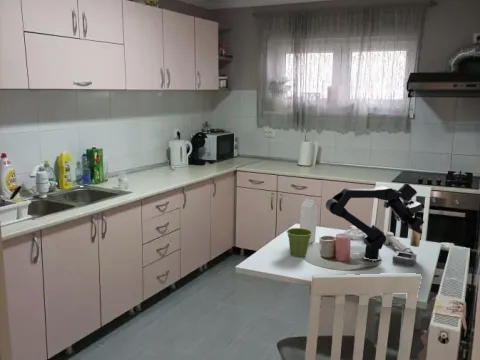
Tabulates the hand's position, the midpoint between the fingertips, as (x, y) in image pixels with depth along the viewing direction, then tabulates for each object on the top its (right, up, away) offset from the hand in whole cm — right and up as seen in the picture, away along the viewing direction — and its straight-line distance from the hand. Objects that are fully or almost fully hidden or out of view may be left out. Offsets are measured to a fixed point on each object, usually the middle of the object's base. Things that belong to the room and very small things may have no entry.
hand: (419, 231), depth 218 cm
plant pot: (-56, -11, +2) cm, 57 cm away
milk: (-49, -7, +23) cm, 54 cm away
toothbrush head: (-5, -11, +15) cm, 19 cm away
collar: (-8, -13, -2) cm, 16 cm away
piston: (-2, -6, +1) cm, 7 cm away
